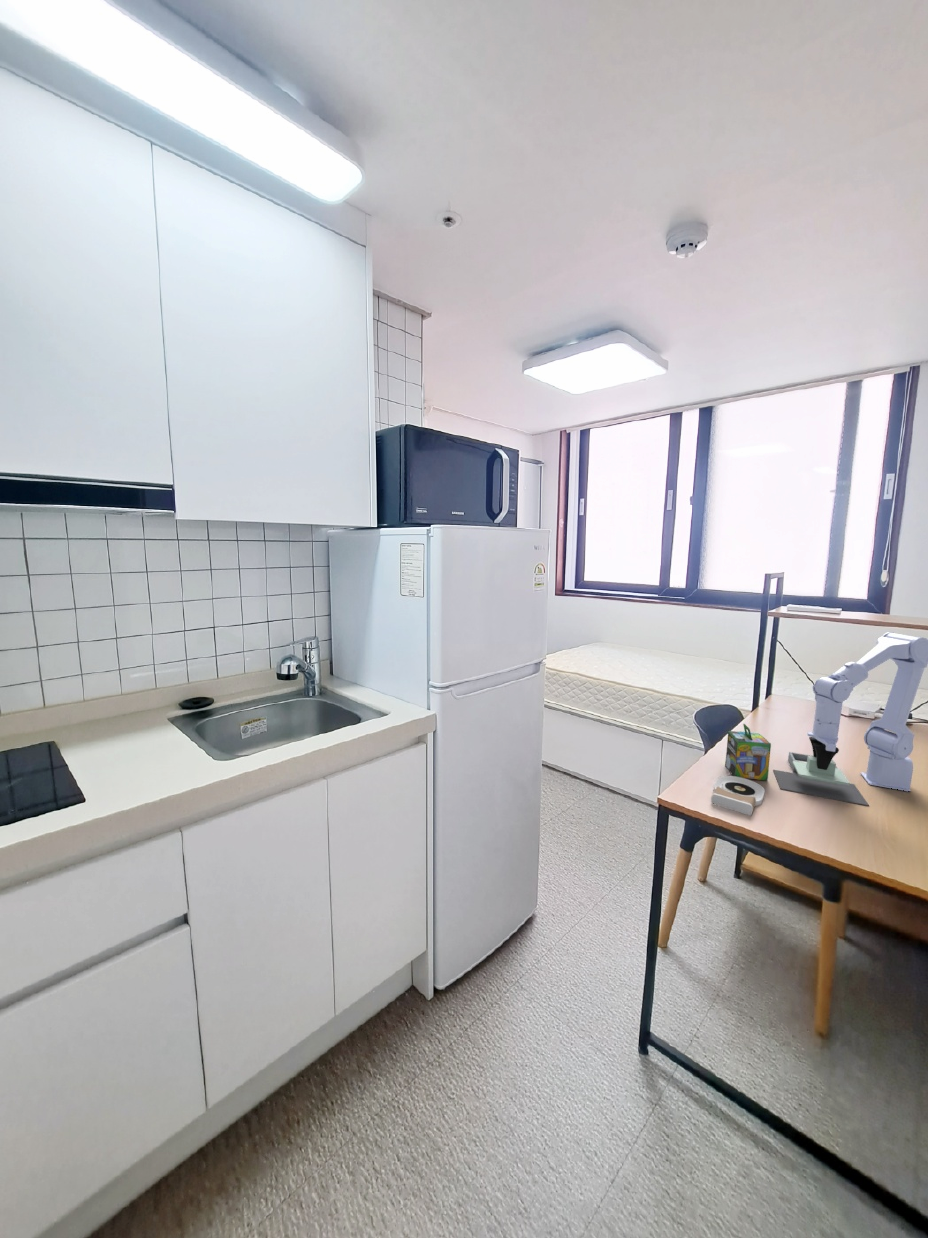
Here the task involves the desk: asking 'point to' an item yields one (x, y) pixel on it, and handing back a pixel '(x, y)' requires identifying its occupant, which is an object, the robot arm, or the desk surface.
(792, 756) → the chalk tray box
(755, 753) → the chalk box
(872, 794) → the desk surface
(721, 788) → the record player
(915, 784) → the desk surface
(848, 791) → the rubber mat
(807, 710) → the desk surface
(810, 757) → the lid
